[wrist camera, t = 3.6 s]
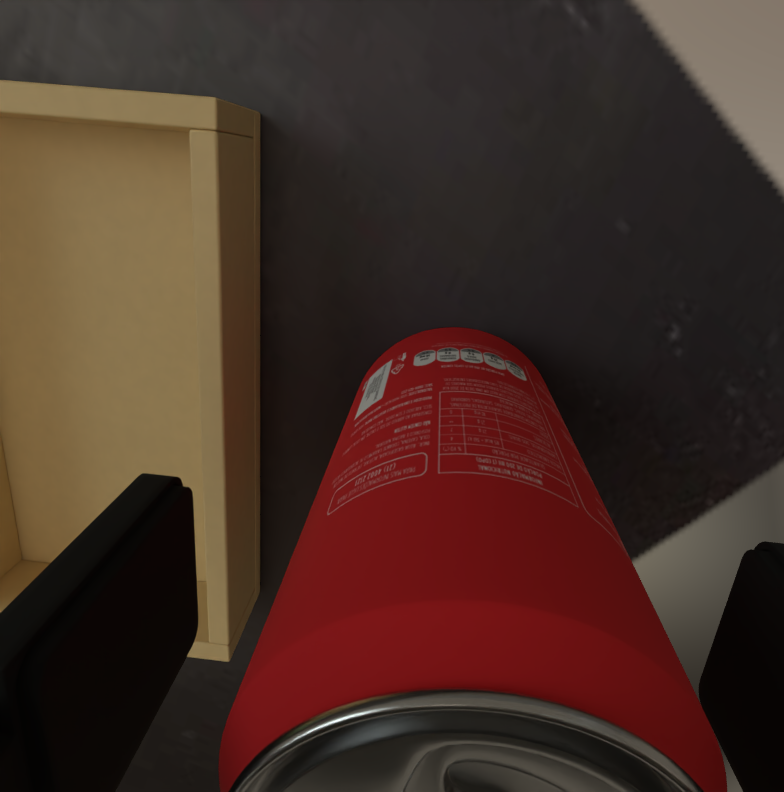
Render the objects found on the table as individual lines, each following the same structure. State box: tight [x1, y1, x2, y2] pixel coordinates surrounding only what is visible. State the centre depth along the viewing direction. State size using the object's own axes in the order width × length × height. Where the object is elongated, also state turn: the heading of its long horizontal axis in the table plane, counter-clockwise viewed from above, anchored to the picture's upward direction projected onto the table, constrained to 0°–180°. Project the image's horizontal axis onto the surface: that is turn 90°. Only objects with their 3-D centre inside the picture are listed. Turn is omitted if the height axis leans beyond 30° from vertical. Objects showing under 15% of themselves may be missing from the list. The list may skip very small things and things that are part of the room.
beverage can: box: [219, 327, 727, 792], centre depth 11 cm, size 5×5×12 cm
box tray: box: [0, 80, 260, 662], centre depth 16 cm, size 14×8×3 cm, turn 175°
